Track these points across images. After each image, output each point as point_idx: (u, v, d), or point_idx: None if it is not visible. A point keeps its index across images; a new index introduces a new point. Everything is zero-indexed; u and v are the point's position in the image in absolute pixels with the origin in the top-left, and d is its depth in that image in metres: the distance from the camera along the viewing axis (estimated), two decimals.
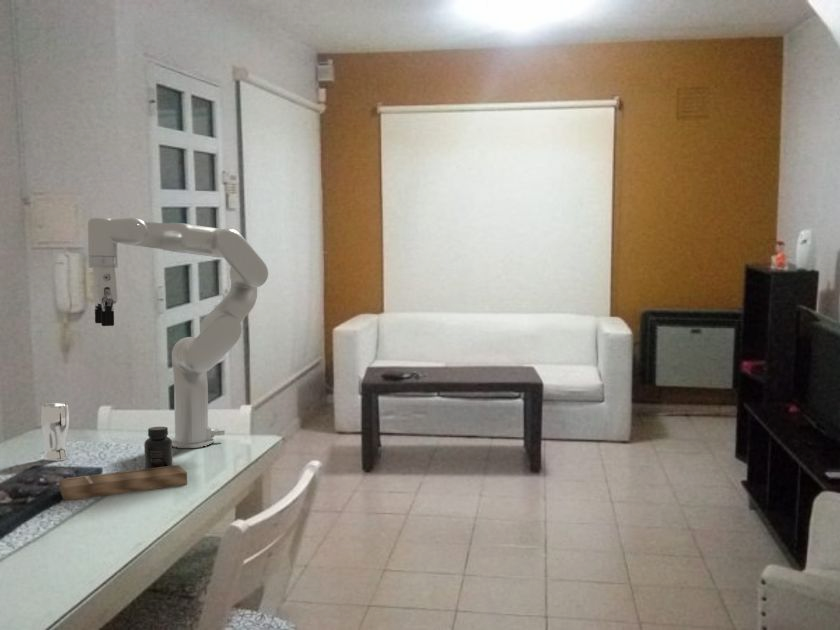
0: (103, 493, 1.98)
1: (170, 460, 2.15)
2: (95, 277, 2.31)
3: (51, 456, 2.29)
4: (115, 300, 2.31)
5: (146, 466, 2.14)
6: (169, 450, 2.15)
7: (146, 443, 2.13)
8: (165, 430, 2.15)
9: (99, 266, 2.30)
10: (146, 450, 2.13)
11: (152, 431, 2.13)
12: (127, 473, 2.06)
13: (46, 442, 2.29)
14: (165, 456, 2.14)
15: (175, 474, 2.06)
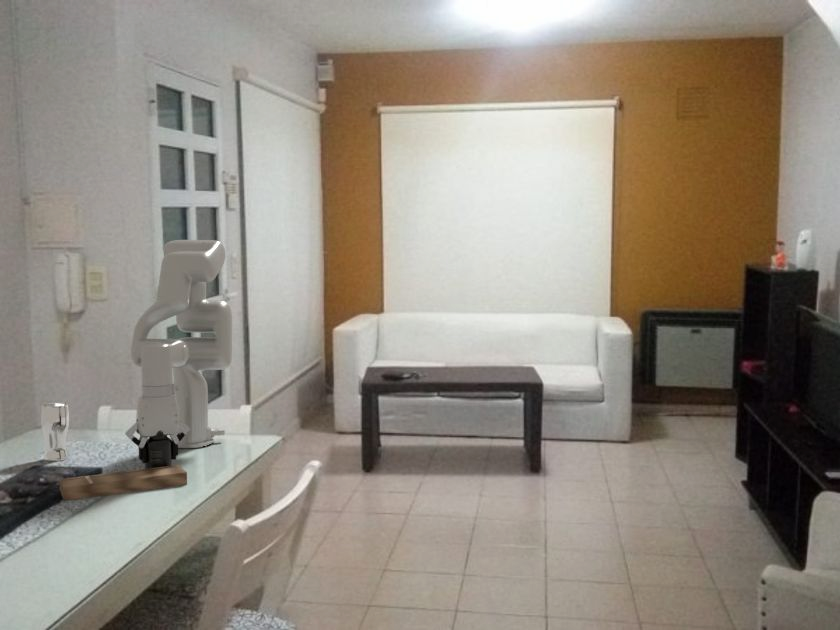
0: (103, 493, 1.98)
1: (170, 460, 2.15)
2: (167, 407, 2.14)
3: (51, 456, 2.29)
4: None
5: (146, 466, 2.14)
6: (169, 450, 2.15)
7: (146, 443, 2.13)
8: None
9: (172, 394, 2.15)
10: (146, 450, 2.13)
11: None
12: (127, 473, 2.06)
13: (46, 442, 2.29)
14: (165, 456, 2.14)
15: (175, 474, 2.06)
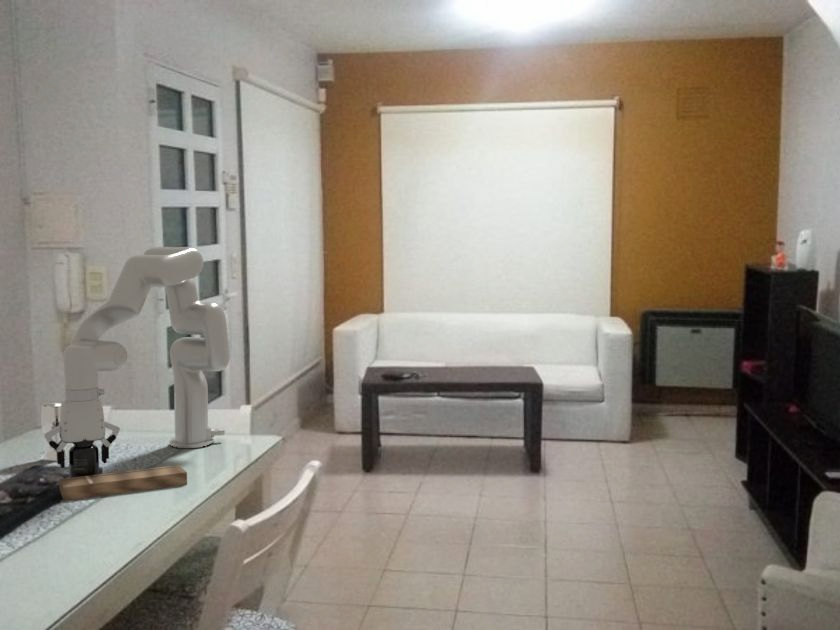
0: (103, 493, 1.98)
1: (96, 468, 2.07)
2: (92, 412, 2.05)
3: (51, 456, 2.29)
4: None
5: (70, 475, 2.05)
6: (95, 458, 2.06)
7: (70, 451, 2.05)
8: None
9: (97, 399, 2.06)
10: (70, 458, 2.05)
11: None
12: (127, 473, 2.06)
13: (46, 442, 2.29)
14: (90, 464, 2.05)
15: (175, 474, 2.06)
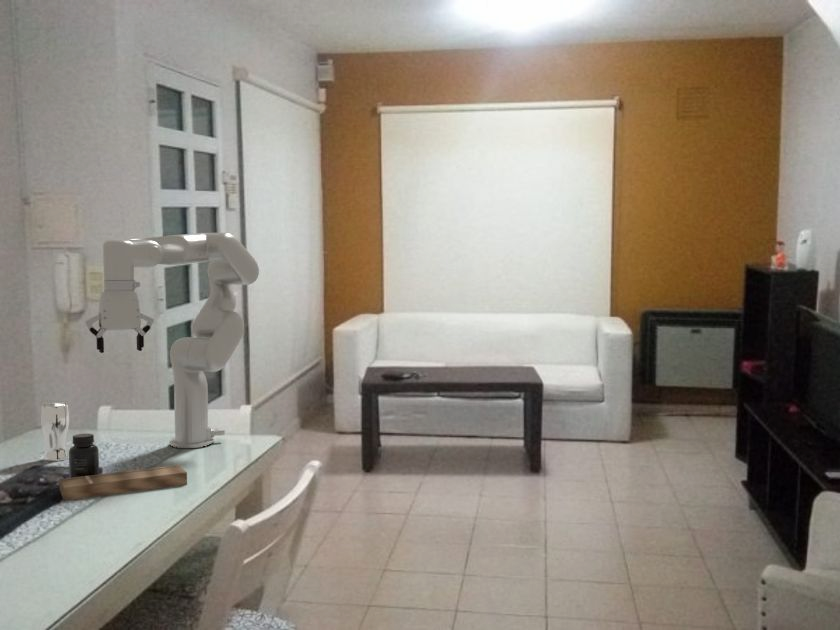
0: (103, 493, 1.98)
1: (96, 468, 2.07)
2: (128, 302, 2.22)
3: (51, 456, 2.29)
4: None
5: (70, 475, 2.05)
6: (95, 458, 2.06)
7: (70, 451, 2.05)
8: (90, 437, 2.06)
9: (133, 290, 2.24)
10: (70, 458, 2.05)
11: (76, 438, 2.05)
12: (127, 473, 2.06)
13: (46, 442, 2.29)
14: (90, 464, 2.05)
15: (175, 474, 2.06)
